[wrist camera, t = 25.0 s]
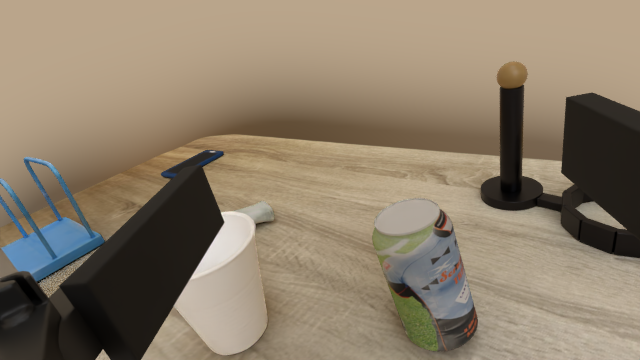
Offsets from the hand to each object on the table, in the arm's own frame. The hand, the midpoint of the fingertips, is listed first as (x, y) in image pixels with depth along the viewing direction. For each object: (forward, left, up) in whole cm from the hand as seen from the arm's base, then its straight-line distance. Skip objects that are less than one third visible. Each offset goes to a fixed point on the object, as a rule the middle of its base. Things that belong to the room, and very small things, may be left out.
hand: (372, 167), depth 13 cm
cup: (+4, +20, -21) cm, 29 cm away
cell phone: (+38, +67, -21) cm, 80 cm away
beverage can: (+11, +2, -21) cm, 24 cm away
